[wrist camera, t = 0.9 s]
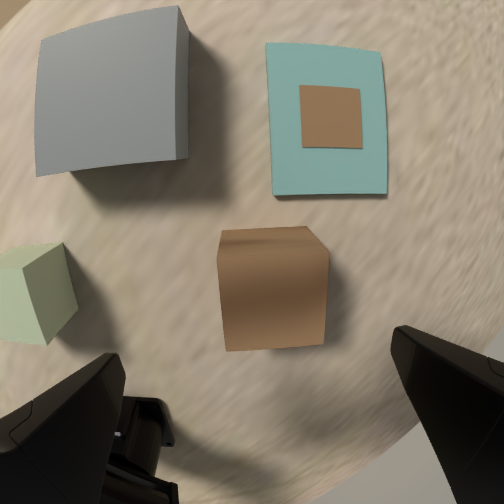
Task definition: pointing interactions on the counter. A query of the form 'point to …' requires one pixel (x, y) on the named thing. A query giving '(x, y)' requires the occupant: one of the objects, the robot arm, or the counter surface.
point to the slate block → (113, 93)
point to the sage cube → (35, 293)
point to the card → (326, 120)
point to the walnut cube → (272, 288)
